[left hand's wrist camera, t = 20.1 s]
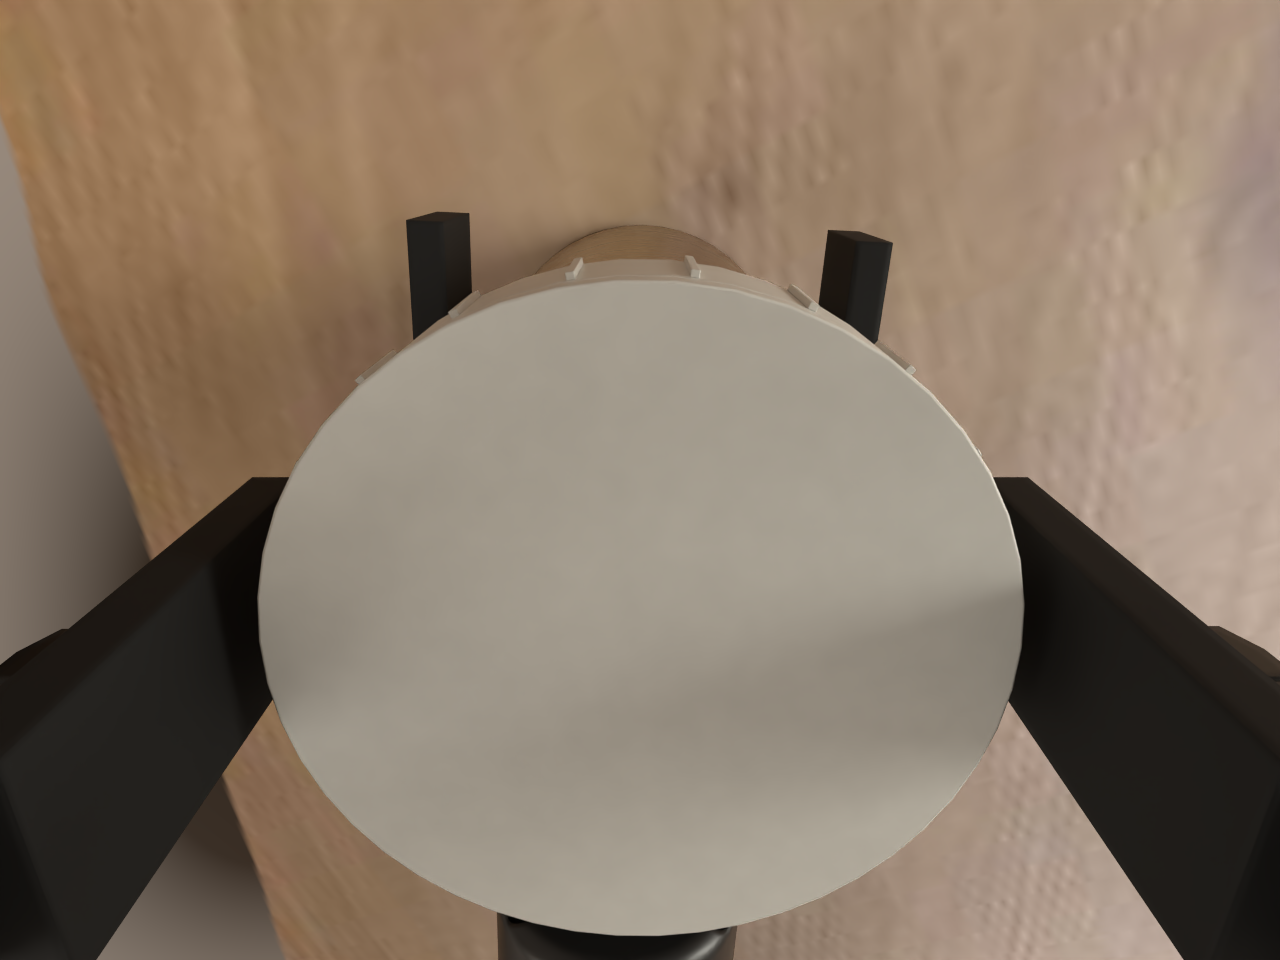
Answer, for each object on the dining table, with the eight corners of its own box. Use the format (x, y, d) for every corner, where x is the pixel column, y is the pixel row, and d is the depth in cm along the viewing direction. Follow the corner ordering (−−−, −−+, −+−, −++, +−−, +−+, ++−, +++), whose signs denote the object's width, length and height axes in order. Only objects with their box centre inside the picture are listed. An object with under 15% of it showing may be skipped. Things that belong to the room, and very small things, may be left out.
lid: (830, 110, 10) (874, 100, 8) (1046, 717, 13) (1111, 807, 11) (172, 444, 11) (82, 498, 9) (514, 908, 15) (497, 1015, 13)
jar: (451, 313, 24) (198, 522, 10) (698, 169, 23) (790, 188, 9) (591, 533, 27) (539, 932, 13) (820, 418, 26) (1035, 730, 12)
